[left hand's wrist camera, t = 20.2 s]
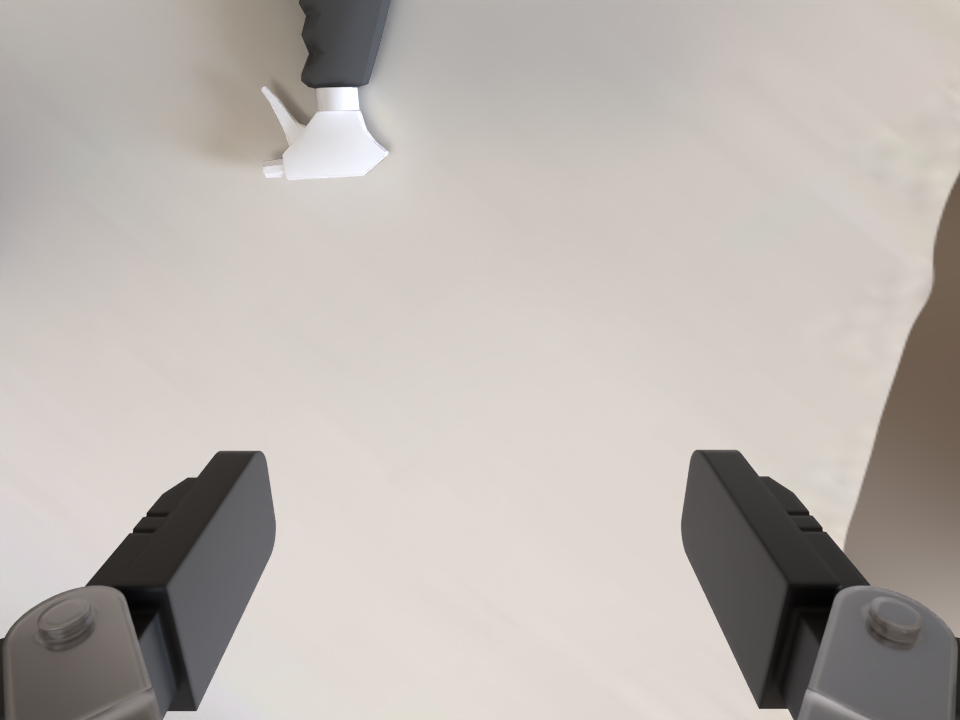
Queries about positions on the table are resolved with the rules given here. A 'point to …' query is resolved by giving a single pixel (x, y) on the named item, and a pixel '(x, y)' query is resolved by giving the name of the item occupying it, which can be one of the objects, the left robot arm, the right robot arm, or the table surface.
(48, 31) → the table surface
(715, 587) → the left robot arm
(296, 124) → the spray bottle
